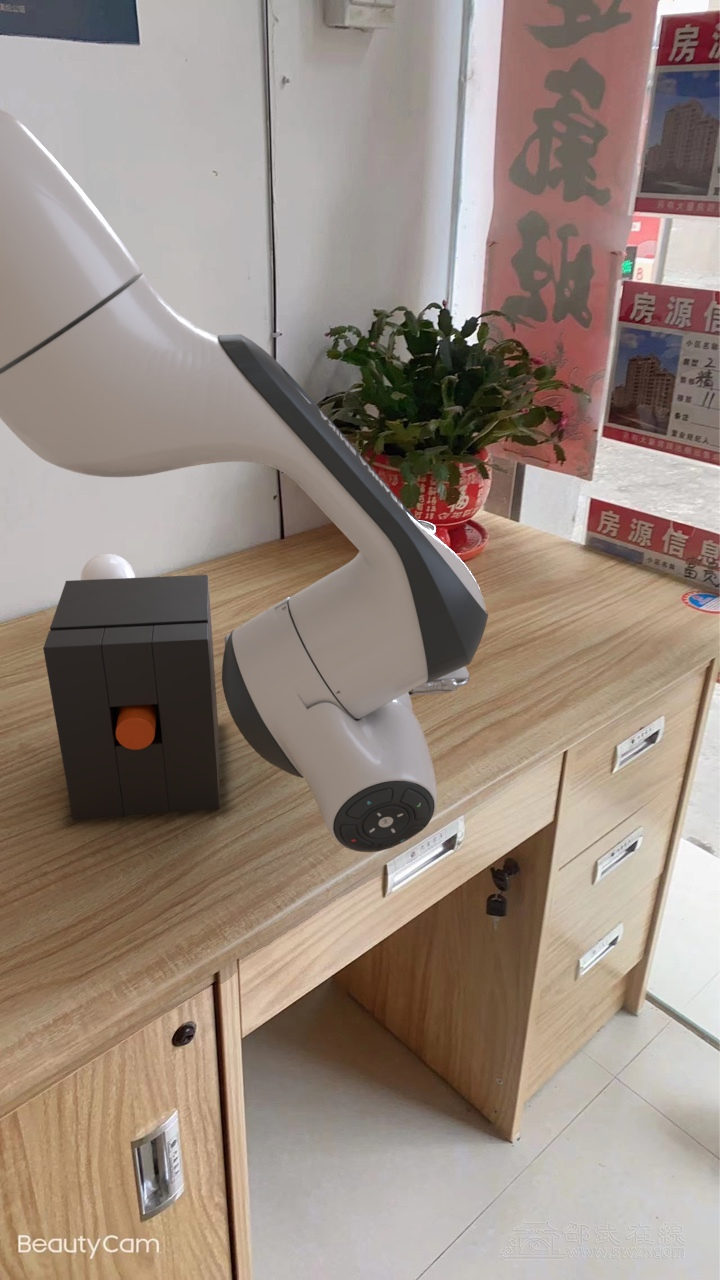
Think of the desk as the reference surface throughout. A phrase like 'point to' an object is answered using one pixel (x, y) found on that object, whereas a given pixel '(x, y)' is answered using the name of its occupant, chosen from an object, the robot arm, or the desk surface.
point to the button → (136, 726)
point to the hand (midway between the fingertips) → (331, 618)
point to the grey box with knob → (135, 694)
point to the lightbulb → (107, 568)
